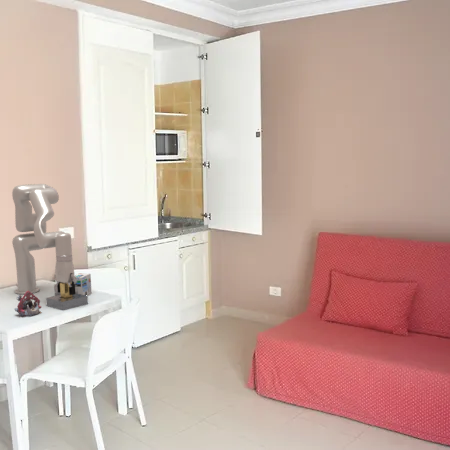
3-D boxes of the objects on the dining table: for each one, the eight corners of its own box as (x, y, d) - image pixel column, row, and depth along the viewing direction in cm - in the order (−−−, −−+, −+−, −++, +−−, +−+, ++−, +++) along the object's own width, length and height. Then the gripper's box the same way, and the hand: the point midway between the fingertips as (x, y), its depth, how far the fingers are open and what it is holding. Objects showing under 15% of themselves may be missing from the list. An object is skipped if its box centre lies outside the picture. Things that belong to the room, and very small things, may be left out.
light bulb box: (83, 298, 284) (81, 277, 283) (71, 297, 286) (69, 277, 285) (92, 293, 295) (91, 273, 294) (80, 292, 296) (79, 273, 295)
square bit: (61, 305, 271) (59, 283, 270) (68, 303, 274) (67, 281, 273) (65, 306, 268) (64, 284, 267) (73, 304, 271) (71, 282, 270)
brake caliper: (26, 314, 247) (15, 291, 251) (16, 325, 254) (6, 303, 257) (48, 308, 256) (37, 286, 260) (38, 319, 262) (28, 298, 266)
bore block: (46, 305, 270) (46, 297, 270) (71, 299, 281) (70, 292, 280) (63, 310, 261) (62, 301, 261) (87, 303, 272) (87, 295, 271)
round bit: (53, 295, 291) (52, 284, 290) (65, 293, 295) (64, 282, 294) (57, 298, 286) (56, 287, 285) (69, 296, 289) (68, 284, 288)
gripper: (47, 258, 271) (49, 292, 273) (67, 261, 260) (70, 297, 262) (61, 255, 277) (63, 289, 279) (81, 259, 266) (83, 294, 268)
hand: (66, 293), depth 270 cm, fingers open, 9 cm apart
